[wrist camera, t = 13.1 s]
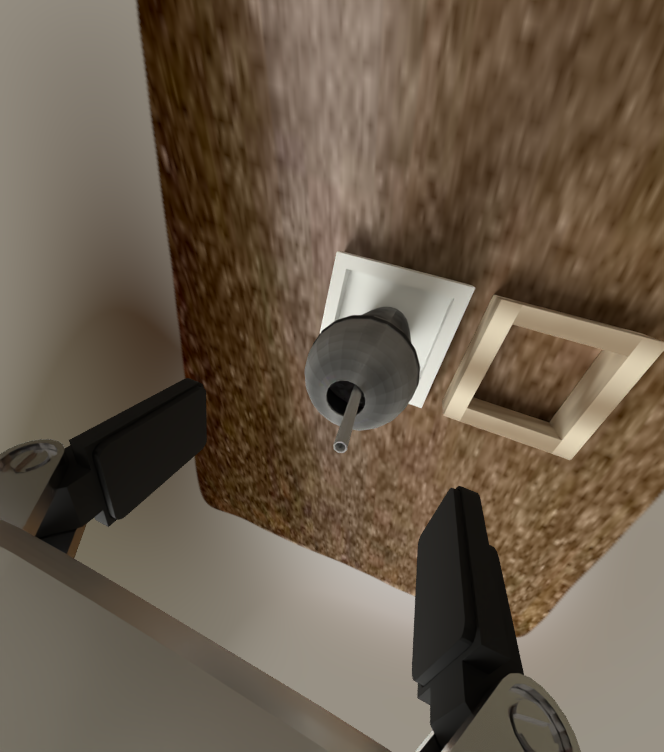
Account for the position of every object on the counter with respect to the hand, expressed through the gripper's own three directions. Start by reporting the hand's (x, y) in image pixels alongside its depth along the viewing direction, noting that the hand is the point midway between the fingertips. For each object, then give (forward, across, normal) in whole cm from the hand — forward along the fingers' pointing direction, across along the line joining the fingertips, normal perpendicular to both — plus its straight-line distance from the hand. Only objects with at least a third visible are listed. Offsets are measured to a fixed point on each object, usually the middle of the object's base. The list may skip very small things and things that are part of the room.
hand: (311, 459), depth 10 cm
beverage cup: (+21, 0, +1) cm, 21 cm away
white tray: (+21, 0, +1) cm, 21 cm away
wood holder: (+21, -14, +1) cm, 25 cm away
